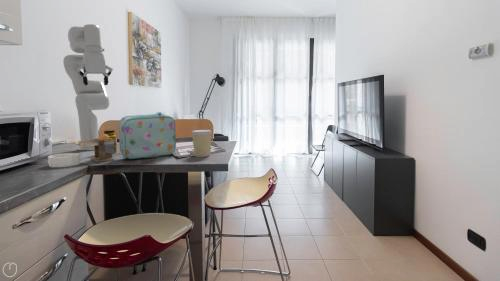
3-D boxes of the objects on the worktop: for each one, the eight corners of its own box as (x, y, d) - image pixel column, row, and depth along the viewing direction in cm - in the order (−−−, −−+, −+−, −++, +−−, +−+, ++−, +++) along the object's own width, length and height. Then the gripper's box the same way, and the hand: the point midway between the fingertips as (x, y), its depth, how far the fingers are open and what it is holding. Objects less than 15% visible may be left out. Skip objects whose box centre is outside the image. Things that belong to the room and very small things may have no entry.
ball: (100, 141, 170) (100, 134, 169) (108, 140, 172) (107, 133, 171) (102, 142, 167) (102, 134, 166) (110, 141, 169) (110, 134, 169)
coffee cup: (213, 153, 179) (212, 129, 178) (210, 156, 170) (209, 131, 169) (195, 153, 180) (194, 129, 179) (190, 157, 171) (189, 131, 169)
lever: (72, 152, 174) (71, 139, 173) (103, 149, 183) (102, 136, 182) (81, 156, 160) (80, 142, 160) (114, 152, 170) (113, 138, 169)
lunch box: (171, 152, 187) (168, 111, 184) (179, 154, 179) (177, 111, 176) (118, 158, 172) (115, 113, 169) (125, 161, 163) (122, 114, 161)
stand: (91, 159, 171) (89, 139, 170) (107, 157, 176) (106, 137, 175) (98, 162, 163) (96, 140, 161) (115, 160, 167) (113, 139, 166)
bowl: (46, 164, 160) (45, 155, 160) (76, 160, 168) (76, 152, 167) (52, 168, 151) (51, 158, 150) (83, 164, 158) (83, 155, 158)
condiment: (120, 152, 190) (118, 130, 188) (103, 155, 184) (102, 131, 182) (114, 151, 195) (112, 129, 193) (98, 153, 189) (96, 130, 188)
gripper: (108, 52, 188) (111, 85, 190) (72, 50, 177) (75, 85, 179) (113, 50, 183) (116, 84, 185) (76, 48, 172) (80, 84, 174)
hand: (96, 85), depth 182 cm, fingers open, 9 cm apart
